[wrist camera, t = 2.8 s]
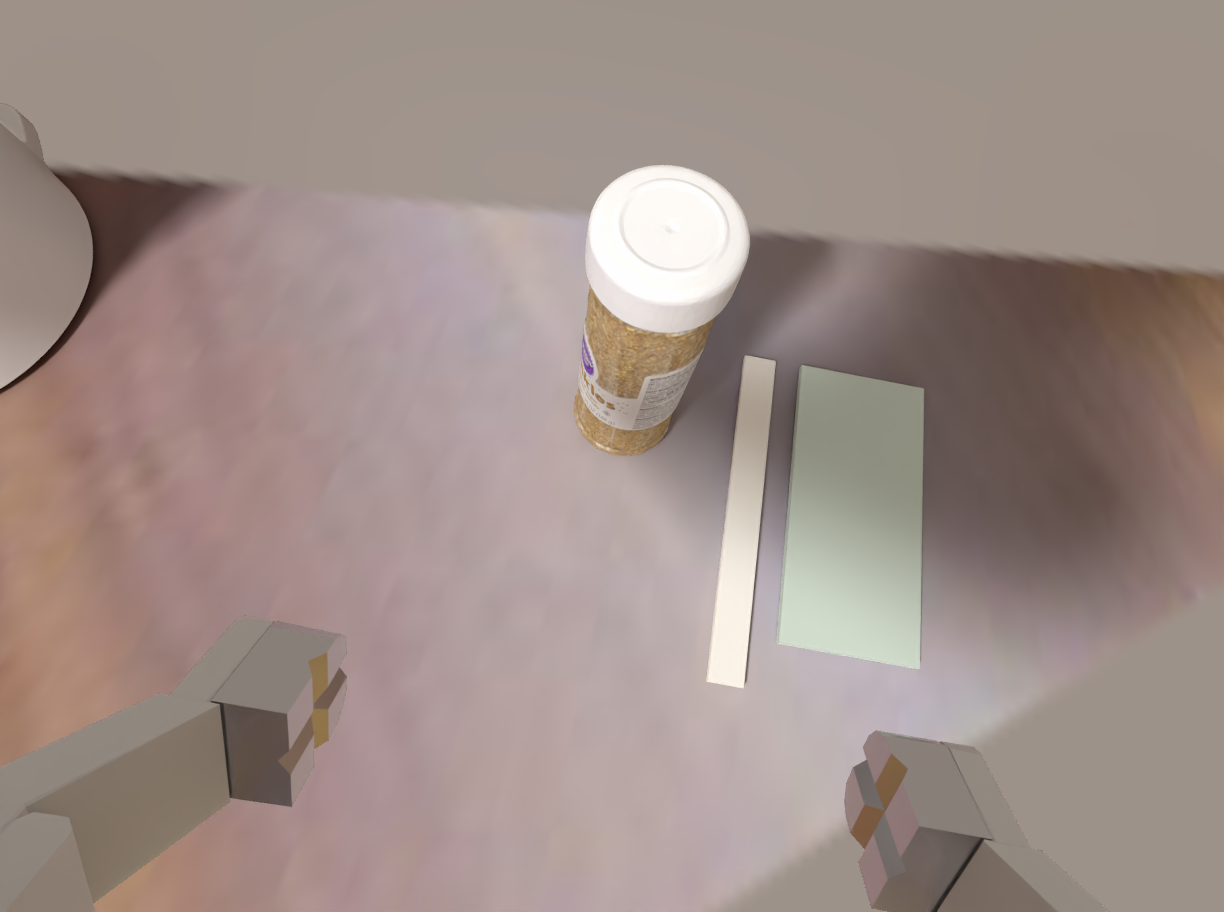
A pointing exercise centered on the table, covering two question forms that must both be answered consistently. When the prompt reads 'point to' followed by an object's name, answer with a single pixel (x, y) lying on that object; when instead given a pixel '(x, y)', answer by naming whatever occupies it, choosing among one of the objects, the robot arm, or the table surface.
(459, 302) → the table surface
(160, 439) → the table surface
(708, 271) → the sprinkles bottle
